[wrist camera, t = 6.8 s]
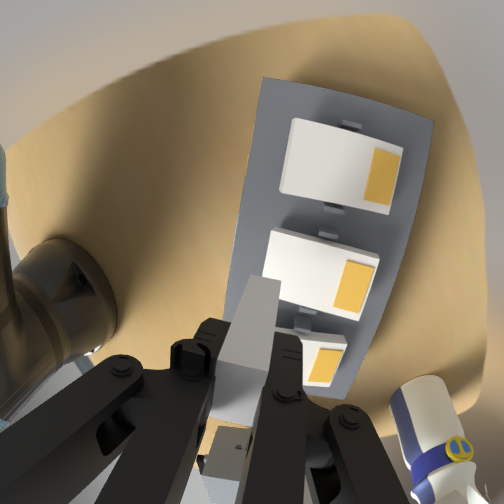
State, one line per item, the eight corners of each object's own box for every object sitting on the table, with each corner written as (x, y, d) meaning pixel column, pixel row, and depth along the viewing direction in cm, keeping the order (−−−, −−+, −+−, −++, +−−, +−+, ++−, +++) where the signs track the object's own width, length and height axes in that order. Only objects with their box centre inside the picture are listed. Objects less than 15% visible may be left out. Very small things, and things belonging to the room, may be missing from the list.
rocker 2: (263, 286, 22) (257, 293, 20) (275, 226, 20) (270, 231, 19) (358, 313, 20) (358, 322, 19) (378, 254, 19) (379, 260, 17)
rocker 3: (242, 368, 23) (242, 379, 22) (252, 323, 22) (252, 334, 20) (326, 377, 23) (329, 388, 22) (343, 335, 22) (347, 345, 21)
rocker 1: (278, 190, 18) (282, 193, 17) (292, 119, 17) (296, 117, 16) (380, 210, 19) (389, 215, 18) (394, 147, 18) (404, 148, 16)
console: (226, 337, 31) (205, 386, 24) (268, 93, 23) (254, 69, 16) (339, 361, 30) (345, 413, 23) (407, 127, 22) (444, 118, 15)
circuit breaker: (212, 402, 35) (174, 499, 21) (327, 410, 33) (327, 517, 19) (218, 436, 37) (188, 523, 23) (320, 444, 35) (316, 537, 21)
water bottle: (404, 368, 29) (457, 575, 6) (458, 375, 29) (526, 543, 5) (373, 415, 32) (391, 597, 9) (426, 419, 31) (462, 577, 8)
